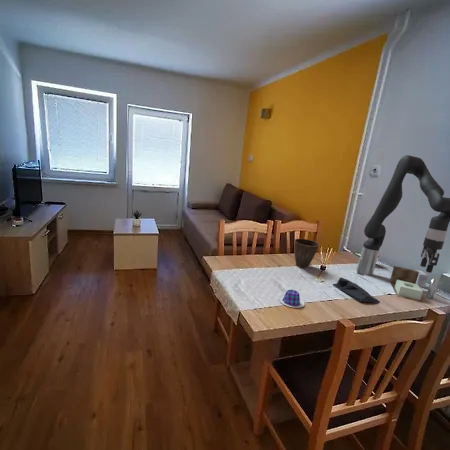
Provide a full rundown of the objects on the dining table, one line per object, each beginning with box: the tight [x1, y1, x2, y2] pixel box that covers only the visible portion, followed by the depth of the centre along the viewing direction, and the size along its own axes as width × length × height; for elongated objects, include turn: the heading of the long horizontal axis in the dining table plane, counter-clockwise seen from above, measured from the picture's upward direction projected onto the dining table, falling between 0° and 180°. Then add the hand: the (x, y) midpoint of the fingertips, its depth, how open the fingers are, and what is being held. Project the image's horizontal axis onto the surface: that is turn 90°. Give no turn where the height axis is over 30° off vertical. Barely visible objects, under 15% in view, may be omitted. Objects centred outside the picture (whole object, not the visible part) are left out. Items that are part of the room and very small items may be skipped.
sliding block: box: [395, 280, 423, 300], centre depth 146 cm, size 10×10×5 cm
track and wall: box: [389, 265, 425, 304], centre depth 148 cm, size 12×22×11 cm, turn 158°
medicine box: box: [414, 269, 429, 288], centre depth 162 cm, size 8×4×9 cm, turn 168°
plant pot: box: [293, 238, 320, 269], centre depth 172 cm, size 15×15×16 cm
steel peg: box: [425, 277, 440, 300], centre depth 144 cm, size 3×3×12 cm
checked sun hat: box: [278, 289, 305, 309], centre depth 125 cm, size 12×12×5 cm
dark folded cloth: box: [332, 276, 381, 304], centre depth 142 cm, size 15×22×5 cm
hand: (425, 269), depth 134 cm, fingers open, 8 cm apart
